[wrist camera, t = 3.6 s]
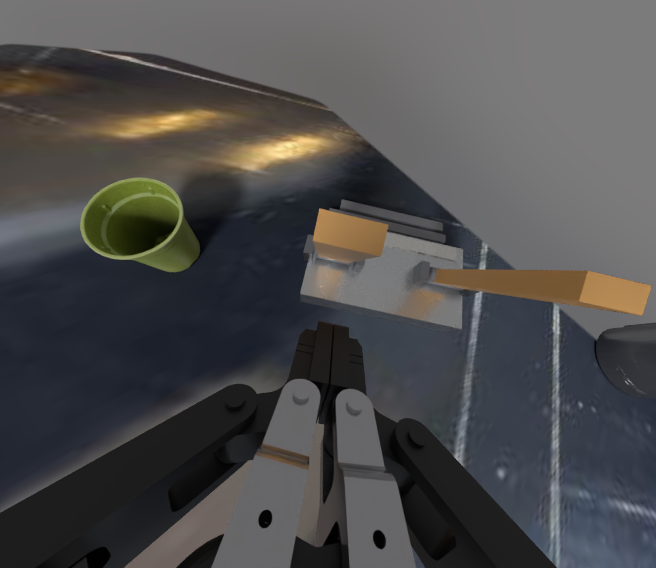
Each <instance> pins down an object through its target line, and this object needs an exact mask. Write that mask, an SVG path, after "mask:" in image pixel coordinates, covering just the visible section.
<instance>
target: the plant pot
mask: <svg viewBox="0 0 656 568" xmlns="http://www.w3.org/2000/svg"><path fill="white" fill-rule="evenodd" d="M80 228H81V232H82V236H83V239H84V240H85V242H86V243H87V244H88V246H89V247H90V248H91V249H93V250H94V251H95V252H97V253H99V254H101V255H103V256H106V257H108V258H113V259H119V260H135V261H138V262H141V263H144V264H147V265H150V266H152V267H155V268H158V269H161V270H164V271H167V272H179V271H182V270H185V269H187V268H189V267H190V266H191V264H192V263H193V262H194V261H195V260H196V259H197V258H198V256H199V253H200V245H199V242H198V240H197V238H196V236H195V235H194V233H193V231H192V230H191V228H190V226H189V224H188V223H187V221H186V219H185V216H184V209H183V204H182V202H181V200H180V198H179V196H178V195H177V193H176V192H175V191H174V190H173V189H172V188H171V187H169V186H168V185H166V184H165V183H163V182H160V181H158V180H154V179H149V178H131V179H126V180H121V181H118V182H116V183H113V184H111V185H109V186H107V187H105V188H104V189H102V190H101V191H99V192H98V193H97V194H96V195H94V196H93V198H92V199H91V200H90V201H89V203H88V204H87V206H86V207H85V209H84V211H83V213H82V217H81V224H80Z"/></svg>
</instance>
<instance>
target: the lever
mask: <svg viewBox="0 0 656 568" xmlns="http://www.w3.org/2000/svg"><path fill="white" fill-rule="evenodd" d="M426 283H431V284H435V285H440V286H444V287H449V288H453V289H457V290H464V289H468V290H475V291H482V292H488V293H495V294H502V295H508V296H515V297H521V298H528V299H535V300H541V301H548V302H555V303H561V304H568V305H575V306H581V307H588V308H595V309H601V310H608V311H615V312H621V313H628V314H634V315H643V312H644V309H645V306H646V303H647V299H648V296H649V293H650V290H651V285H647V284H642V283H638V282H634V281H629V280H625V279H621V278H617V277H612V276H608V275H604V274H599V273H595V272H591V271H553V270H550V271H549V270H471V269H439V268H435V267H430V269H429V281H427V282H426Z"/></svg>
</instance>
